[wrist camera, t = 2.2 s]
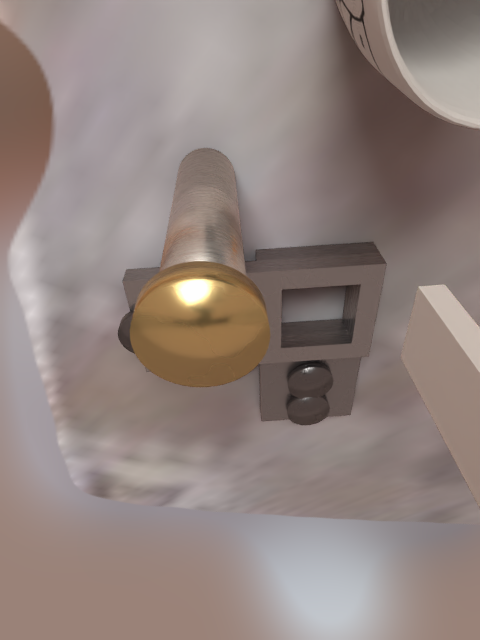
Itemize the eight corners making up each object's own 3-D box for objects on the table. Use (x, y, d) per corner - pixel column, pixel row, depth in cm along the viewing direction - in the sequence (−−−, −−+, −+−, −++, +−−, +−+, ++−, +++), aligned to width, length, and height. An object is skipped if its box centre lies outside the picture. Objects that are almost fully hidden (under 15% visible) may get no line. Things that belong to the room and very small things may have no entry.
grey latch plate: (255, 249, 25) (258, 266, 24) (373, 242, 25) (382, 257, 24) (260, 409, 34) (262, 428, 33) (346, 403, 34) (352, 421, 33)
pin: (162, 140, 21) (115, 286, 11) (242, 135, 21) (270, 275, 11) (174, 215, 24) (144, 391, 13) (245, 210, 24) (270, 382, 13)
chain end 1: (379, 252, 24) (390, 269, 23) (363, 343, 29) (371, 362, 27) (110, 270, 24) (103, 288, 23) (135, 359, 28) (131, 379, 27)
